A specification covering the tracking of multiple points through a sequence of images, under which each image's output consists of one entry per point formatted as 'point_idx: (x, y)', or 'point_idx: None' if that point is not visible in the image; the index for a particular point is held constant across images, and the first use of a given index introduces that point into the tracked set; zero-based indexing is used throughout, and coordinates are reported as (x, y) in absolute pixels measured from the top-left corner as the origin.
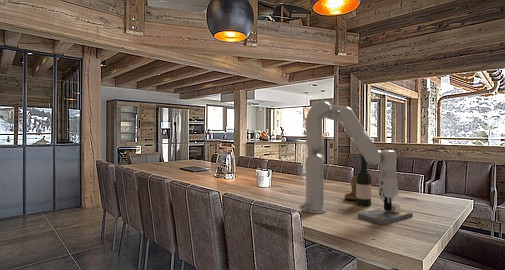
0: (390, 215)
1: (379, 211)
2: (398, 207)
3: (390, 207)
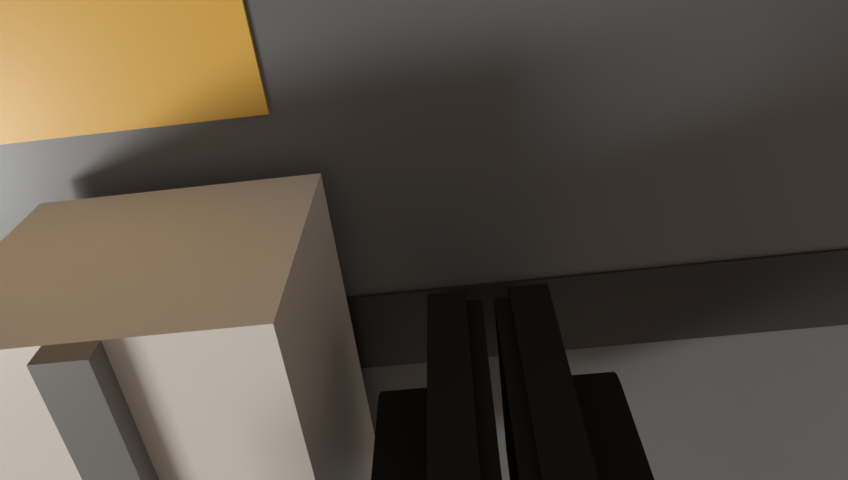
0: (718, 66)
1: None
2: (65, 280)
3: (485, 366)
